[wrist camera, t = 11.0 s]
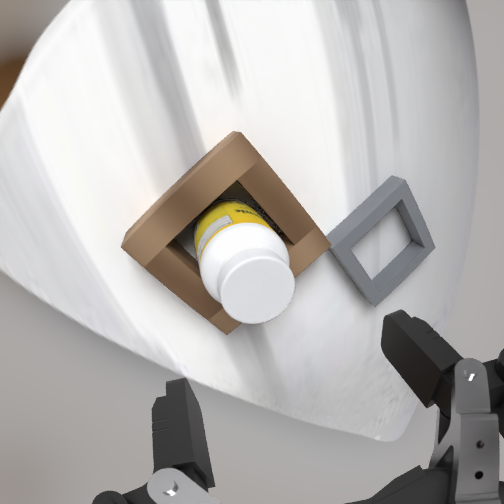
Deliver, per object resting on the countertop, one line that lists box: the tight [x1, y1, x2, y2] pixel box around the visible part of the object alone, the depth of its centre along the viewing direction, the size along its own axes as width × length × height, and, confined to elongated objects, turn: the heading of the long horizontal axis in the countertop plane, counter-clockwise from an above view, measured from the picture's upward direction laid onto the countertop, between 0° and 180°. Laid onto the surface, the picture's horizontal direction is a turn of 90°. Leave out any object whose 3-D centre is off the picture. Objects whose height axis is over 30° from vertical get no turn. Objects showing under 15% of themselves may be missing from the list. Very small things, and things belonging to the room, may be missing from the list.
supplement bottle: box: [193, 199, 295, 324], centre depth 20 cm, size 5×5×10 cm
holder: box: [326, 176, 435, 307], centre depth 28 cm, size 9×9×2 cm
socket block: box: [121, 131, 331, 335], centre depth 23 cm, size 11×11×3 cm
